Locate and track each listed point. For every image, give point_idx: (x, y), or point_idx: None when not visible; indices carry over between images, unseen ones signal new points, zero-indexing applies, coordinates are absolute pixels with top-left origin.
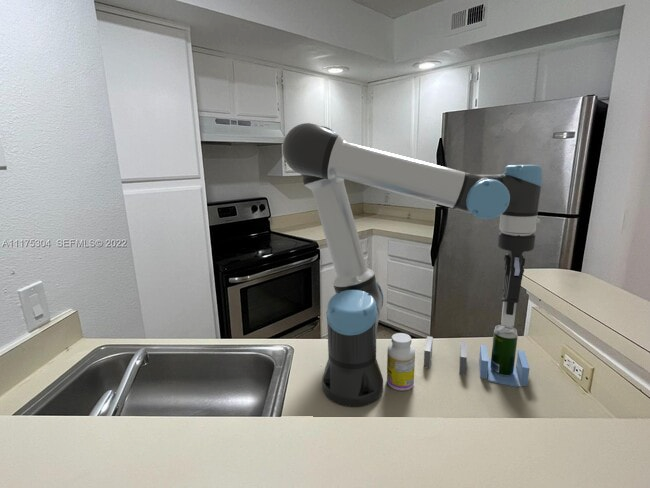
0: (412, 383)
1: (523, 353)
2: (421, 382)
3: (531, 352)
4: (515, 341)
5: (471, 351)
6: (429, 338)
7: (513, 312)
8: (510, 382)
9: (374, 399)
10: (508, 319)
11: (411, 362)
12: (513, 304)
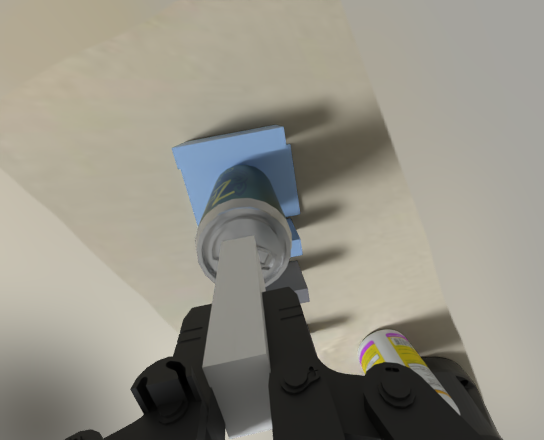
0: (394, 335)
1: (191, 150)
2: (362, 320)
3: (60, 118)
4: (265, 197)
5: (178, 271)
6: None
7: (262, 292)
8: (285, 166)
9: (446, 361)
10: (261, 280)
11: (433, 383)
12: (316, 357)
